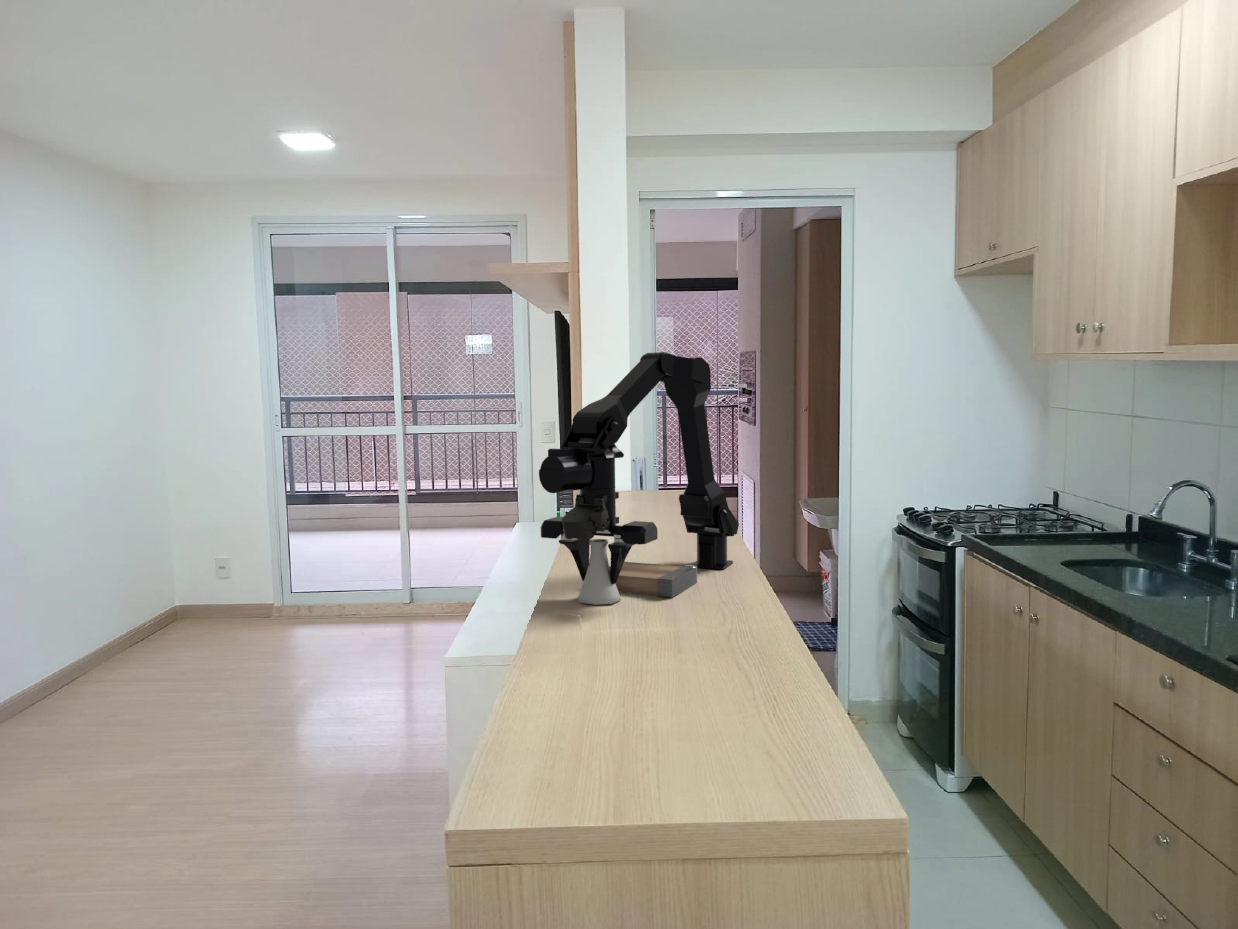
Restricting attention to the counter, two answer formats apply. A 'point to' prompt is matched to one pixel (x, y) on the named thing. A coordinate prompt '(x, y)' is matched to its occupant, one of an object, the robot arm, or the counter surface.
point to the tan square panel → (642, 577)
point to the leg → (677, 581)
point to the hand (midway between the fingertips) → (599, 582)
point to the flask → (598, 577)
